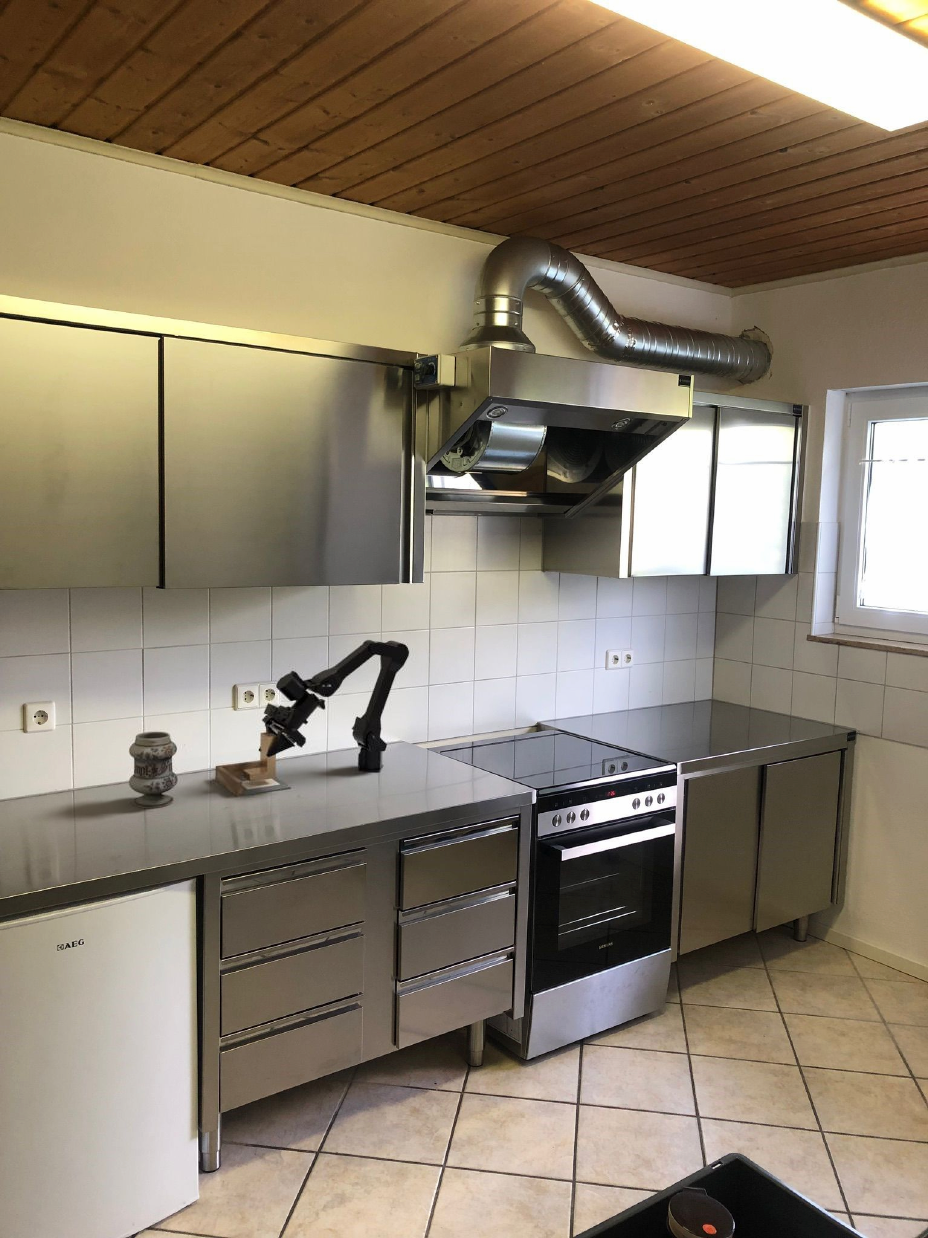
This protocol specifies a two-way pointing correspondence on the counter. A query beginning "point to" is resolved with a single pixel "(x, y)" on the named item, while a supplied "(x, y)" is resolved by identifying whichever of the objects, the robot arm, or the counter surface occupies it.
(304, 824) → the counter surface
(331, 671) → the robot arm
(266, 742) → the wooden l-shaped block
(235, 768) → the corner walls
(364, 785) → the counter surface
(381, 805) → the counter surface
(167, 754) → the apothecary jar
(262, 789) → the mat
